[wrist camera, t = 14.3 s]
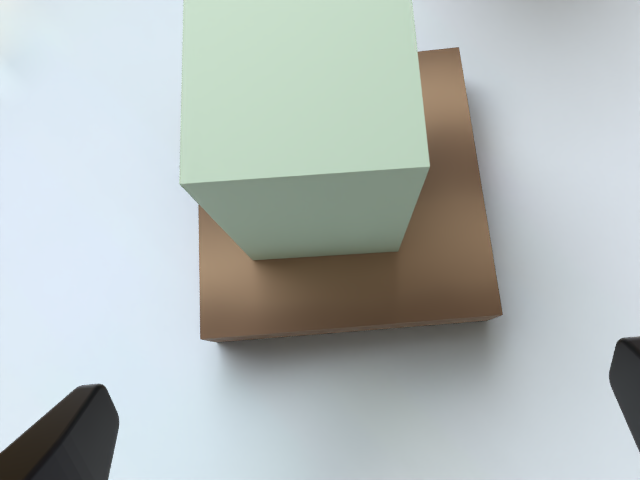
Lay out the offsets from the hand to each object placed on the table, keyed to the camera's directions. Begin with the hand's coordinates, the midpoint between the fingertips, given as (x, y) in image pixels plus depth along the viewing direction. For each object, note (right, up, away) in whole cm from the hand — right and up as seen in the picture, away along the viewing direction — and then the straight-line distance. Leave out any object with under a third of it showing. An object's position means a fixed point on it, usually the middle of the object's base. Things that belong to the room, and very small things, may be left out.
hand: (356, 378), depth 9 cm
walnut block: (0, +4, +15) cm, 16 cm away
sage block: (-1, +5, +13) cm, 13 cm away
